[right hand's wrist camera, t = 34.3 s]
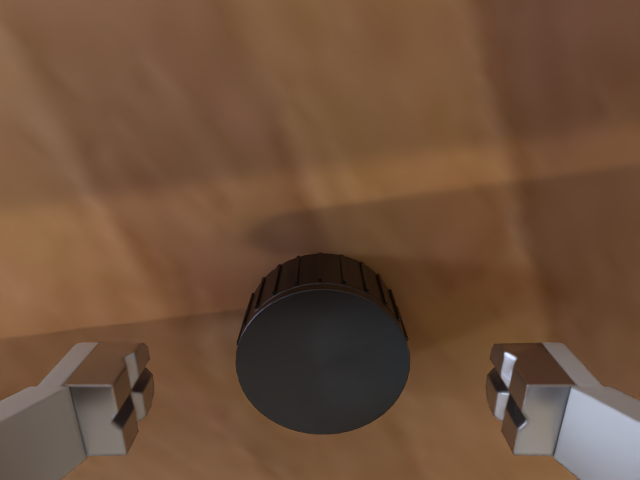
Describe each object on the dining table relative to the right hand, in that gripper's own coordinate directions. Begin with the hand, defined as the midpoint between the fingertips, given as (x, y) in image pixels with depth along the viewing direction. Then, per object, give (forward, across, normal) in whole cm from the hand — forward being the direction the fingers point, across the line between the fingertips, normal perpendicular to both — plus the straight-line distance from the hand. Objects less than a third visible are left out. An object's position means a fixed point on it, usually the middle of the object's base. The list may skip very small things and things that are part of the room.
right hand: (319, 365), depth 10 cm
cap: (0, 0, 0) cm, 1 cm away
